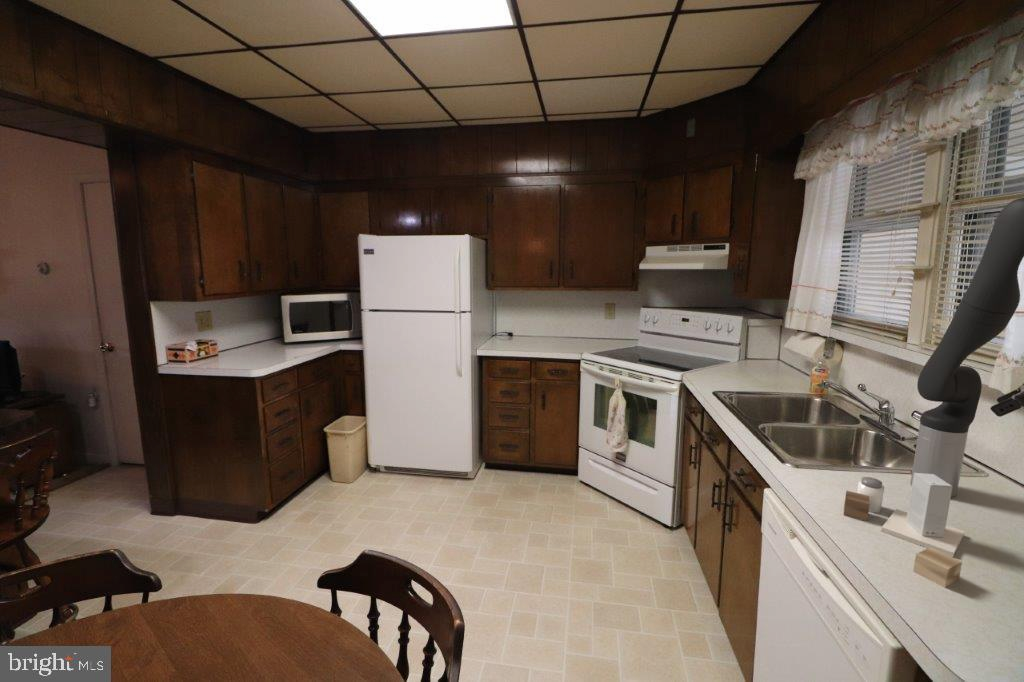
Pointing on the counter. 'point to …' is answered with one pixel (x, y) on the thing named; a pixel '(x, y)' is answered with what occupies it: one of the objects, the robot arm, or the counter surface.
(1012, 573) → the counter surface
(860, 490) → the white jar
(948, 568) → the oak block
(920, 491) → the skincare box
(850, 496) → the walnut block
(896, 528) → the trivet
